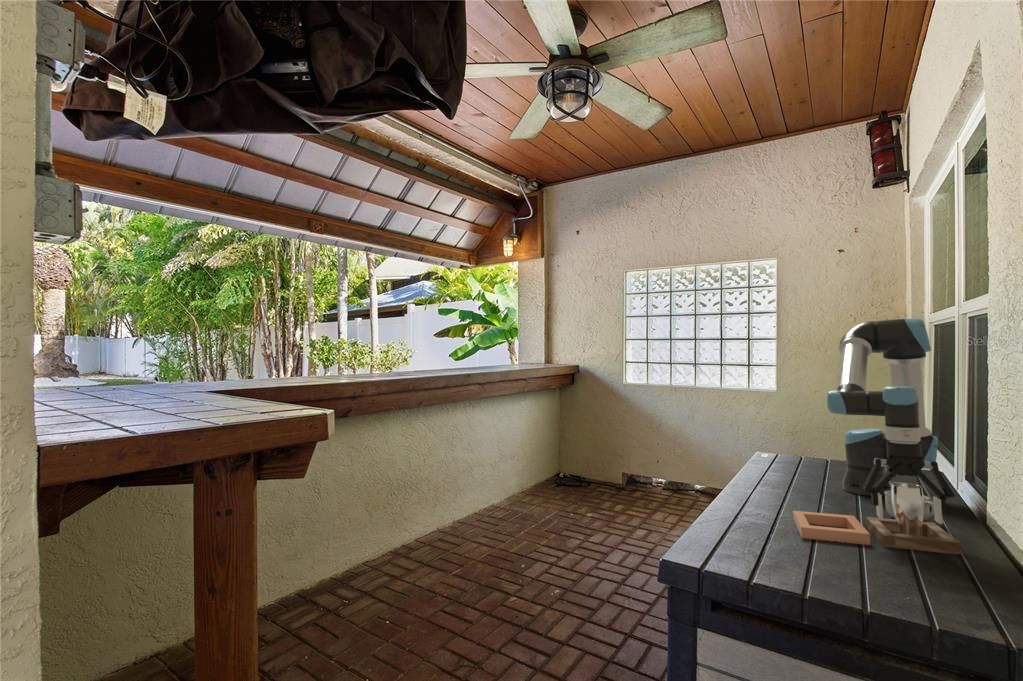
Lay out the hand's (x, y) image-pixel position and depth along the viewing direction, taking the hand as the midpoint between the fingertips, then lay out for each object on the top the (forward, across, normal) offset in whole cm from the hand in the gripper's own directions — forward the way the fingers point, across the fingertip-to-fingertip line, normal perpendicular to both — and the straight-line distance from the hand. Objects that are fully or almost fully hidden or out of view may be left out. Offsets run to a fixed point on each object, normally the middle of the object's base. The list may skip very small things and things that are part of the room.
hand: (908, 519), depth 129 cm
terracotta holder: (+5, -19, 0) cm, 20 cm away
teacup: (+6, +6, +18) cm, 20 cm away
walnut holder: (+5, 0, 0) cm, 5 cm away
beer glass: (+6, 0, 0) cm, 6 cm away
